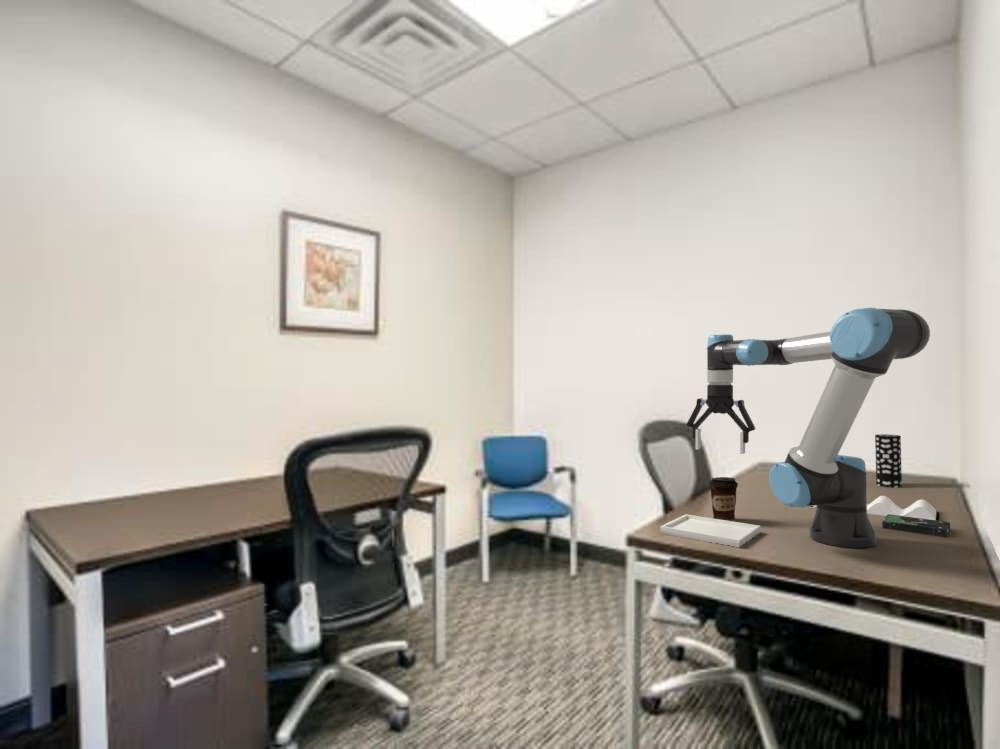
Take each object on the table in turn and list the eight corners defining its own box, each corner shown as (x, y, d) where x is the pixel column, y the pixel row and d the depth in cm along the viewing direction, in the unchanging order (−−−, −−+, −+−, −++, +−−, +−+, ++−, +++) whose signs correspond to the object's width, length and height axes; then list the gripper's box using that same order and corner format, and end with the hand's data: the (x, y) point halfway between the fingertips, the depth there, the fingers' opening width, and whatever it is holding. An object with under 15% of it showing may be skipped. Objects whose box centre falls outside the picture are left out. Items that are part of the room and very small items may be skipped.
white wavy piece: (940, 524, 165) (940, 507, 165) (808, 508, 187) (808, 493, 187) (940, 515, 175) (940, 499, 175) (815, 501, 197) (815, 487, 197)
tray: (760, 532, 157) (760, 525, 157) (739, 548, 144) (739, 540, 144) (685, 520, 172) (685, 514, 172) (660, 533, 158) (659, 526, 158)
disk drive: (950, 531, 157) (887, 522, 167) (950, 521, 157) (887, 513, 167) (947, 539, 149) (881, 529, 159) (947, 529, 149) (881, 520, 159)
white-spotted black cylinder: (907, 487, 215) (905, 436, 215) (885, 487, 215) (884, 436, 215) (892, 483, 223) (890, 434, 223) (871, 483, 223) (870, 434, 223)
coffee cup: (741, 524, 166) (740, 481, 167) (712, 523, 168) (711, 480, 168) (735, 517, 175) (734, 476, 175) (707, 516, 177) (707, 475, 177)
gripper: (765, 384, 168) (765, 453, 168) (684, 382, 183) (684, 446, 184) (759, 385, 162) (759, 456, 162) (676, 383, 177) (676, 448, 178)
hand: (719, 451), depth 173 cm, fingers open, 13 cm apart
